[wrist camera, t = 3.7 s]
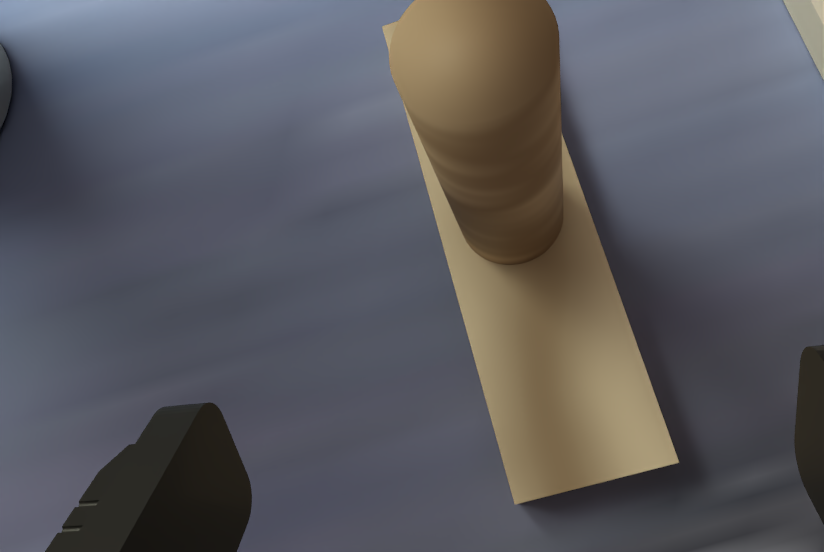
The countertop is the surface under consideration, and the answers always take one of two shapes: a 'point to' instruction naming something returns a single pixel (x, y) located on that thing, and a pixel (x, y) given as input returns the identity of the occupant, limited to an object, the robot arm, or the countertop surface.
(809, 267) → the countertop surface
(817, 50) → the stand
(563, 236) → the bar
